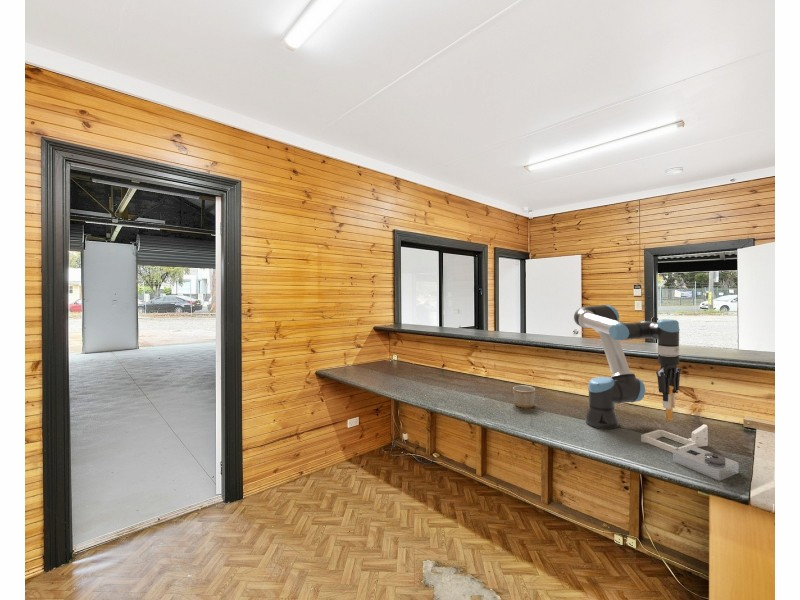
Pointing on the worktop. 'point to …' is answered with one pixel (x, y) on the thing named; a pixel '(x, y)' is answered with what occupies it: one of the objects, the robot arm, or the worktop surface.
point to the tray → (659, 433)
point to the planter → (524, 396)
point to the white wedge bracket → (700, 435)
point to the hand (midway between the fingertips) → (669, 407)
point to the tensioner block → (706, 462)
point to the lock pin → (670, 411)
